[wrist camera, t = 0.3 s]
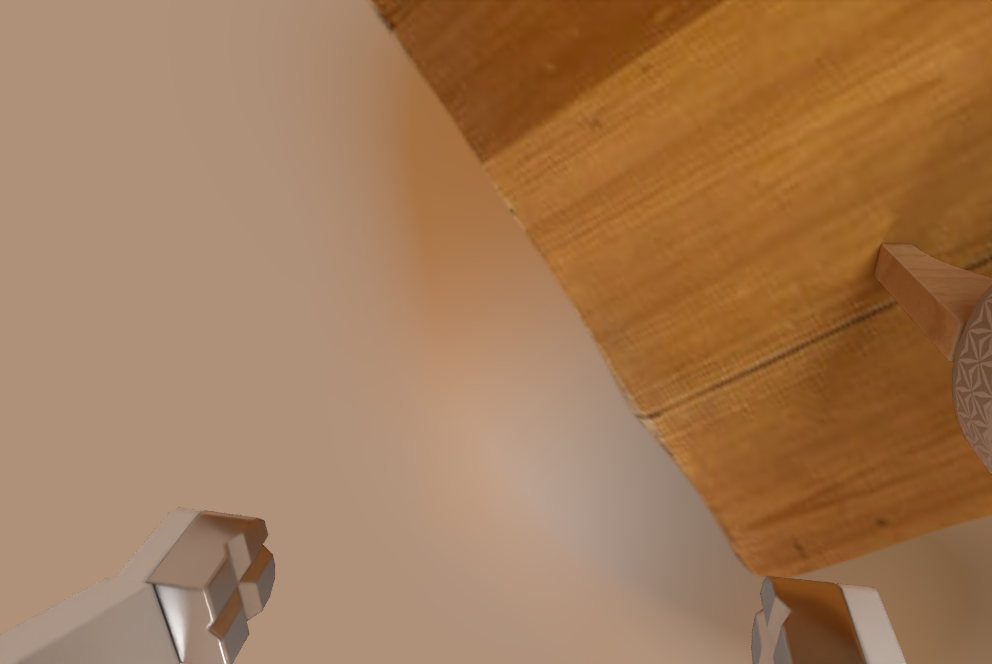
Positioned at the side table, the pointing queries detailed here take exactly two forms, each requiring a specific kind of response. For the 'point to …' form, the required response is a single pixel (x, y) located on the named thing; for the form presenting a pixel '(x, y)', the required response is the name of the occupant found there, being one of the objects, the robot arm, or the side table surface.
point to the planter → (950, 329)
